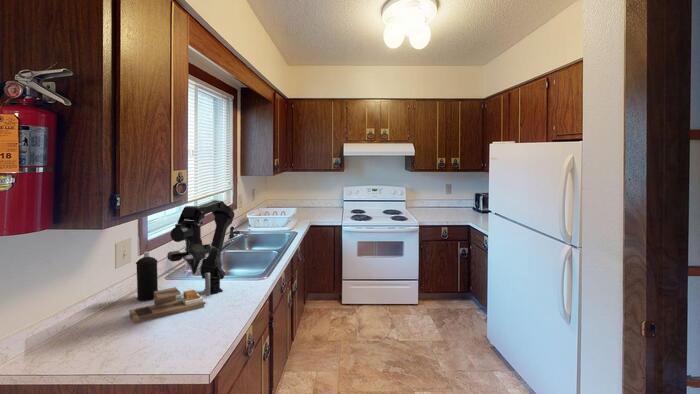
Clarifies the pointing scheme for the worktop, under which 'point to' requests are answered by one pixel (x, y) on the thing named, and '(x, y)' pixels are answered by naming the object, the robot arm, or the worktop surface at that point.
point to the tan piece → (163, 306)
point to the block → (190, 295)
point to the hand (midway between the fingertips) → (193, 273)
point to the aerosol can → (146, 277)
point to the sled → (200, 298)
